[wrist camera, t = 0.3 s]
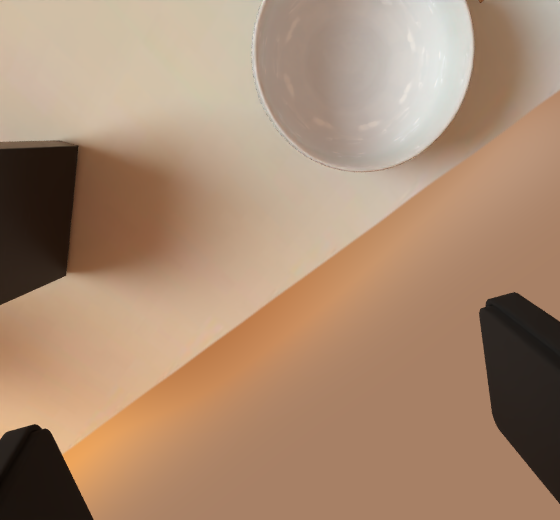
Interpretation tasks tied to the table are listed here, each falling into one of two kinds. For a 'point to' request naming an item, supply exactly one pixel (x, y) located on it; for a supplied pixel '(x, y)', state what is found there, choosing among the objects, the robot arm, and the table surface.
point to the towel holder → (34, 213)
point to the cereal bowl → (362, 76)
